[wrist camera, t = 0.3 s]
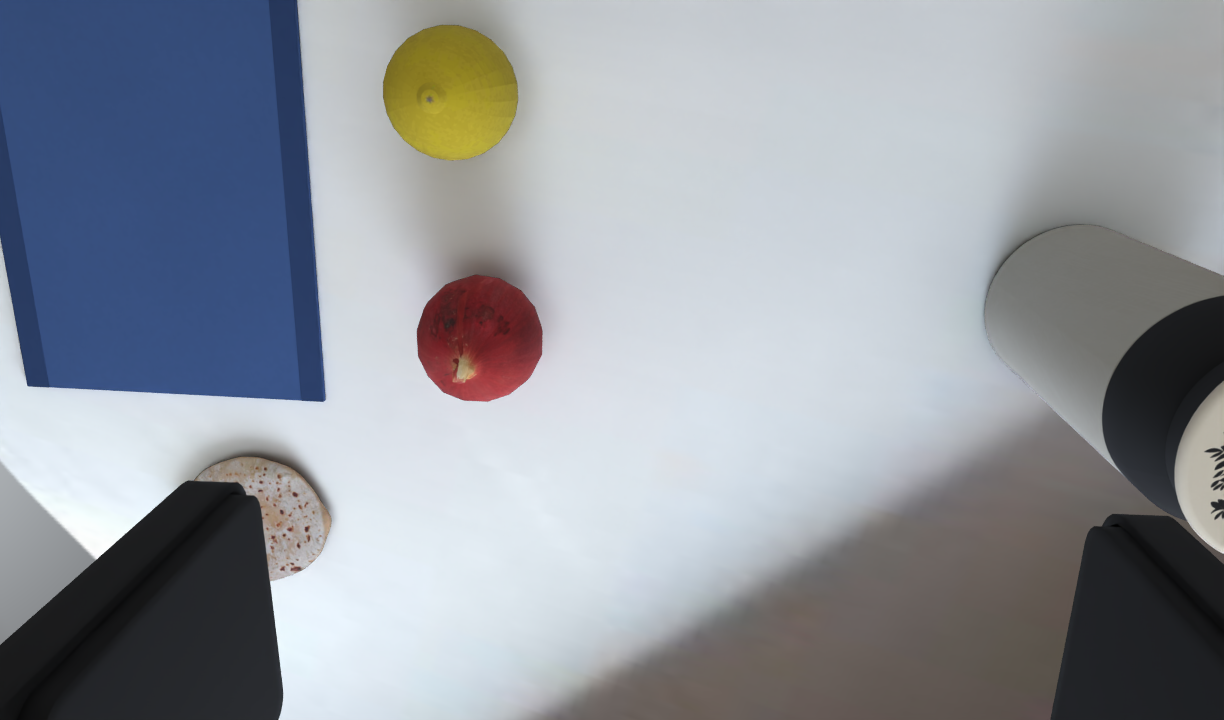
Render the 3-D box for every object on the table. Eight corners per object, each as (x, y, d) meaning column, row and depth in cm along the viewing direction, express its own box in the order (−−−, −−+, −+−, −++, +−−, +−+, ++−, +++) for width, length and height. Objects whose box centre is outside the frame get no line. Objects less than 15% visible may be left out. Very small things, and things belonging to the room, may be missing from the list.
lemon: (399, 126, 44) (343, 143, 36) (430, 9, 42) (379, 0, 35) (509, 166, 44) (477, 191, 37) (545, 51, 42) (519, 52, 35)
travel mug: (963, 259, 44) (1146, 390, 27) (1132, 198, 43) (1436, 296, 26) (1005, 403, 47) (1200, 608, 30) (1167, 349, 45) (1469, 532, 28)
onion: (419, 281, 46) (371, 327, 39) (526, 245, 45) (497, 284, 38) (463, 384, 48) (425, 448, 40) (567, 351, 47) (547, 410, 39)
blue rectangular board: (-42, -19, 43) (-48, -20, 43) (296, -8, 42) (293, -9, 42) (31, 384, 49) (27, 386, 49) (325, 399, 49) (323, 402, 48)
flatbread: (217, 585, 53) (209, 595, 52) (169, 466, 50) (160, 474, 49) (351, 562, 52) (345, 572, 51) (309, 440, 49) (302, 448, 48)
